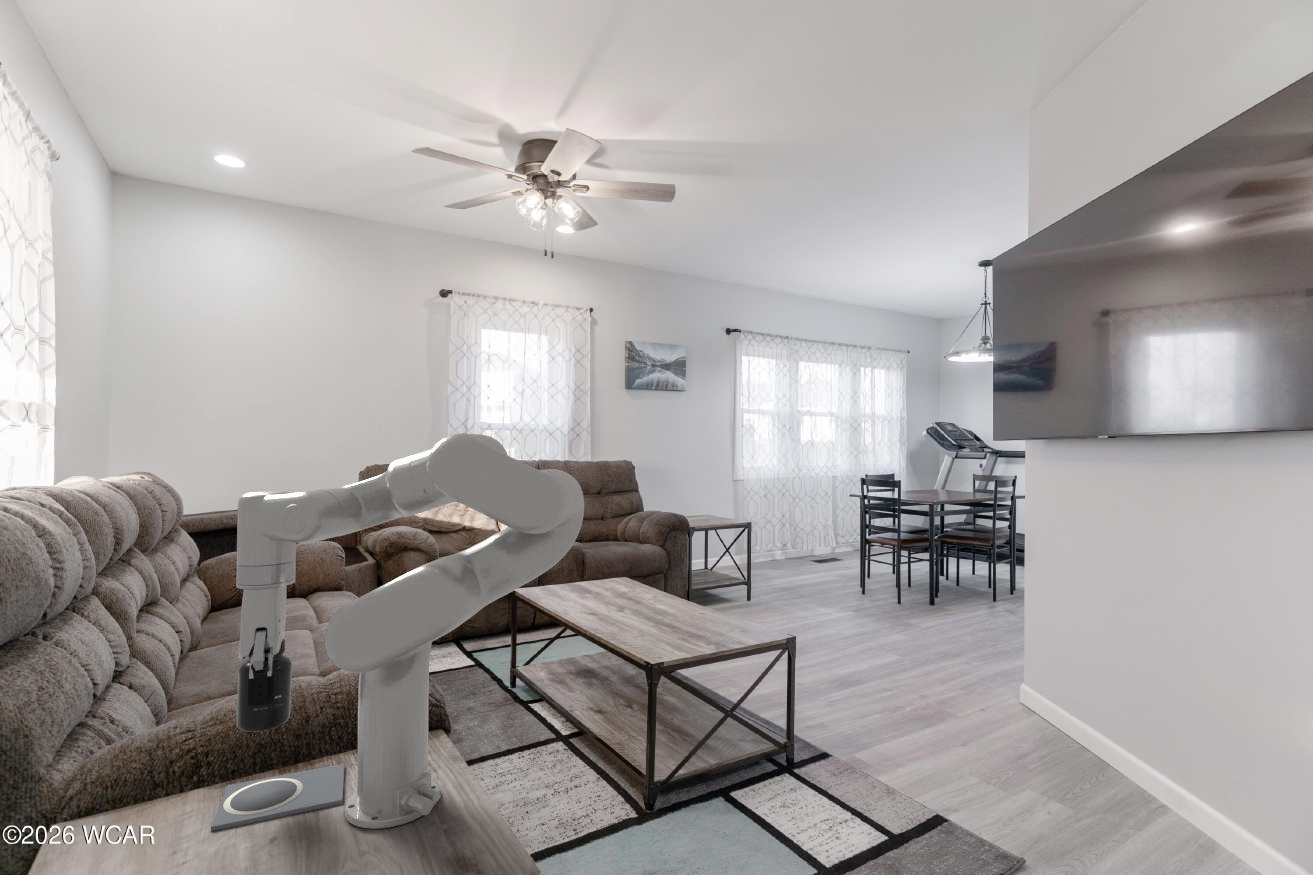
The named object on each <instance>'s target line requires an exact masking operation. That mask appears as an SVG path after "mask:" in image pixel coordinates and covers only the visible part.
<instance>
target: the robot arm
mask: <svg viewBox="0 0 1313 875" xmlns="http://www.w3.org/2000/svg"><path fill="white" fill-rule="evenodd" d="M584 497H585V496H584V492H583V490H582V487H581V485H580V484H579V481H578V480H577V479H576V478H575V477H574V476H573V475H572V474H570V473H568V472H566V471H564V470H561V469H556V468H551V469H549V468H546V469H538V468H535V467H533V466H531V465H528V464H526V463H525V462H522V461H521V460H518V459H515V458H514V457H512V456H510V455H508V452H507V450H506V449H505V447H504V445H503V444H502V443H501V442H500V441H498V440H497V439H495V438H494V437H492V436H491V435H485V434H478V433H477V434H476V433H464V432H463V433H461V432H460V433H454V434H451V435H448V436H446V437H444V438H442V439H441V440H439V441H438V442H437V443H436V444H435V445H434V446H433V448H429V449H426V450H422V451H420V452H418V453H414V454H410V455H408V456H404V457H401V458H397V459H395V460H393V461H391V462H390V463H389V465H388V467H387V470H386V471H385V472H383V473H381V474H378V475H377V476H373V477H371V478H368V479H365V480H361V481H359V482H355V483H352V484H348V485H344V486H341V487H334V488H323V489H322V488H321V489H316V490H314V489H313V490H304V491H297V492H289V491H285V490H266V491H265V490H263V491H262V490H261V491H259V490H258V491H250V492H245V493H243V494H242V495H241V496H240V497H239V498H238V501H237V520H236V521H237V525H236V526H237V528H236V529H237V530H236V532H237V534H236V578H235V579H236V580H235V581H236V586H235V587H236V588H237V589H240V590H243V592H242V593H243V594H242V601H241V610H240V611H241V613H240V628H239V648H238V658H239V659H241V660H245V659H246V658H248V657H247V656H248V655H249V653H250V652H251V657H250V671H249V678H248V706H249V707H252V706H259V705H266V704H272V703H273V702H274V692H275V674H272V673H273V658H274V655H276V654H277V653H278V652H279V650H280V647H281V643H282V640H283V639H285V630H286V623H287V620H286V619H287V586H289V585H293V584H295V583H296V578H297V577H296V572H297V571H296V567H297V564H296V562H297V559H296V558H297V554H296V552H297V549H296V548H297V544H311V543H315V542H320V541H325V540H328V539H332V538H337V537H342V536H346V535H350V534H353V533H356V532H359V531H364V530H365V529H368V528H371V527H376V526H378V525H381V524H384V523H387V522H391V521H393V520H396V519H400V518H409V517H411V516H414V515H415V516H416V515H417V514H418V515H419V514H421V513H424V512H426V511H430V510H434V509H436V508H439V507H442V506H446V505H449V504H452V503H455V502H458V503H460V504H462V505H464V506H466V507H467V508H469V509H472V510H473V511H475V512H477V513H479V514H482V515H484V516H486V517H488V518H490V519H492V520H494V521H496V522H498V523H500V524H501V525H504V526H506V528H505V529H503V530H500V531H499V532H495V533H494V534H492V535H490V536H489V537H488V538H486V539H483V540H482V541H480V542H478V543H476V544H474V545H471V546H469V547H468V548H466V549H464V550H463V549H462V550H461V551H459V552H455V553H454V554H450V555H446V556H443V557H440V558H438V559H435V560H432V561H430V562H427V563H425V564H422V565H420V566H417V567H416V568H414V569H411V570H410V571H408V572H406V573H404V574H402V575H400V576H398V577H396V578H394V579H393V580H391V581H388V582H386V583H385V584H383V585H381V586H379V587H376V588H375V589H373V590H371V591H368V592H367V593H365V594H363V595H361V596H359V597H358V598H356V599H353V600H352V601H349V602H348V603H346V604H344V605H343V606H342V607H340V608H339V609H338V610H336V612H334V614H333V615H332V617H330V620H329V621H328V623H327V626H326V628H325V630H324V631H325V632H324V636H323V637H324V638H323V645H324V646H323V647H324V650H325V651H324V652H325V653H326V656H327V657H328V659H329V660H330V661H331V662H332V664H333V665H334V666H336V667H337V668H339V669H341V670H343V671H345V672H349V673H355V674H359V679H358V689H357V690H358V691H357V692H358V695H357V697H358V700H357V701H358V702H357V703H358V704H357V791H355V792H354V793H353V794H352V795H351V796H350V797H349V798H348V799H347V800H346V803H345V807H344V814H345V815H344V816H345V818H346V820H347V822H348V823H350V824H351V825H353V826H356V827H359V828H362V829H363V828H364V829H373V830H375V829H386V828H387V829H388V828H392V827H397V826H400V825H405V824H407V823H410V822H413V821H415V820H417V819H419V818H421V817H422V816H427V815H428V814H430V812H432V810H433V808H434V807H435V806H436V804H437V803H438V801H439V800H440V799H441V796H442V795H441V792H440V788H439V785H438V783H437V782H436V781H435V780H433V779H432V773H430V772H429V693H430V689H429V688H430V661H431V660H430V659H431V650H432V645H433V644H432V643H433V642H434V641H437V640H438V639H440V638H441V637H443V636H445V635H447V634H448V633H450V632H452V631H454V630H456V628H458V627H459V626H461V625H462V624H463V623H465V622H467V621H468V620H469V619H471V618H473V616H475V615H476V614H477V613H478V612H480V611H481V610H482V609H483V608H485V607H487V606H488V605H489V604H492V603H494V602H495V601H497V600H498V599H500V598H502V597H504V596H507V595H509V594H510V593H512V592H514V591H515V590H517V589H519V588H521V587H522V586H524V585H526V584H529V583H530V582H531V581H533V580H535V579H536V578H539V577H540V576H542V575H543V574H545V573H546V572H548V571H549V570H550V569H553V567H554V566H556V564H558V563H559V562H560V561H561V560H562V559H563V558H564V557H565V555H566V554H567V553H568V552H569V551H570V550H571V548H572V547H573V545H574V544H575V542H576V540H577V538H578V536H579V533H580V531H581V528H582V525H583V520H584V515H585V514H584V512H585V499H584ZM266 638H267V639H266ZM266 650H270V653H267V654H264V653H265V651H266ZM265 659H268V663H267V661H264V660H265ZM267 664H268V666H267Z"/></svg>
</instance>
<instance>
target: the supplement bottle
mask: <svg viewBox="0 0 1313 875" xmlns="http://www.w3.org/2000/svg"><path fill="white" fill-rule="evenodd" d="M266 639H267V638H266ZM267 653H270V650H266V651H265V653H264V654H267ZM284 653H286V640H285V638H284V639H283V640H282V643H281V647H280V650H279V652H278V653H277V654H276V655H274V658H273V673H272V674H275V692H274V702H273V703H272V704H266V705H259V706H252V707H249V706H248V678H249V671H250V657H251V652H250V653H249V655H248V656H247V657H246V658H248V659H247V660H246V661H243V663H242V664H241V665H240V666H239V668H238V671H237V672H238V674H237V699H236V701H237V702H236V727H237V728H238V730H240V731H243V732H250V733H251V732H253V733H254V732H255V733H256V732H263V731H267V730H271V729H275V728H278V727H280V726H282V725H283V724H285V723H287V722H288V720H289V719H290V717H291V704H292V703H291V700H292V672H293V671H292V669H293V668H292V667H293V662H292V660H291V659H290V658H289V657H288V656H286V655H284ZM264 661H267V663H268V659H265V660H264ZM267 666H268V664H267Z"/></svg>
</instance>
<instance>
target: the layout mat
mask: <svg viewBox="0 0 1313 875" xmlns="http://www.w3.org/2000/svg"><path fill="white" fill-rule="evenodd" d="M344 777H345V763H339V764H335V765H330V766H324V767H319V768H313V769H312V768H311V769H307V770H303V771H298V772H290V773H284V774H280V775H274V776H270V777H265V778H259V779H254V780H248V781H243V782H238V783H233V784H227V786H226V789H225V791H224V793H223V796H222V798H221V801H220V803H219V806H218V808H217V811H216V813H215V816H214V818H213V821H212V823H211V826H210V832H215V831H220V830H223V829H224V830H225V829H229V828H233V827H237V826H238V827H239V826H243V825H248V824H252V823H258V822H261V821H262V822H263V821H266V820H271V819H278V818H281V817H286V816H291V815H295V814H300V813H304V812H310V811H315V810H319V809H325V808H330V807H333V806H340V805H343V799H344V783H345V782H344V780H345V778H344Z"/></svg>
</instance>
